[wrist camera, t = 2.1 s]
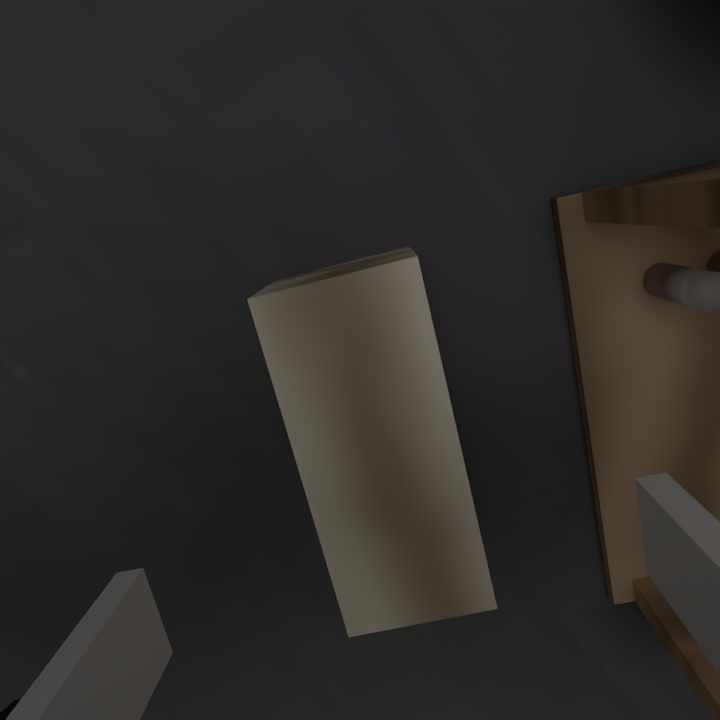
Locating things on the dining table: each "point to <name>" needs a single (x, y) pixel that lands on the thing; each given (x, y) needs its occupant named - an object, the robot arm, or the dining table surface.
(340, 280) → the beige wooden block
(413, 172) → the dining table surface
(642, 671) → the dining table surface
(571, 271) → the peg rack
